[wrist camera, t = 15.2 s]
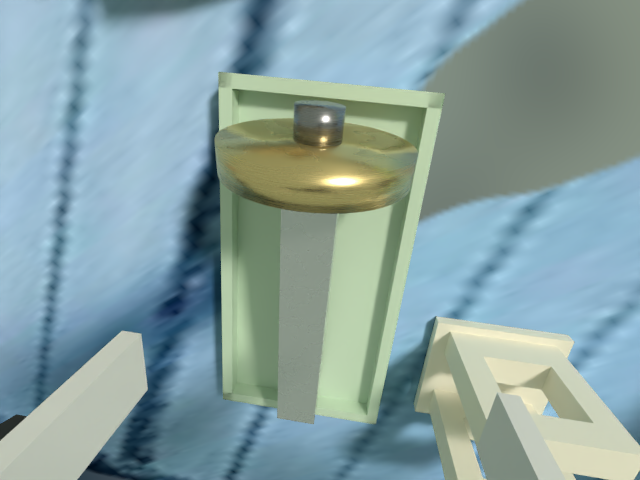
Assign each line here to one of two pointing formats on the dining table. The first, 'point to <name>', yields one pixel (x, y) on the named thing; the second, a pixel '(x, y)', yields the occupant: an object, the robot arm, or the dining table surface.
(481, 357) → the double loop bracket
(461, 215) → the dining table surface
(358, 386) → the tray
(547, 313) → the dining table surface
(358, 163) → the gold disc post
